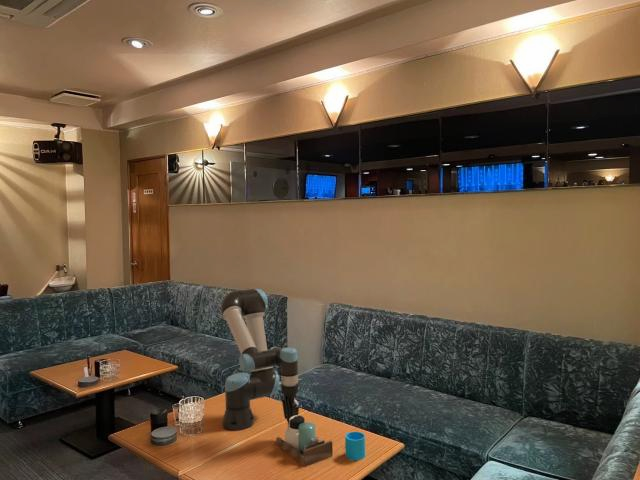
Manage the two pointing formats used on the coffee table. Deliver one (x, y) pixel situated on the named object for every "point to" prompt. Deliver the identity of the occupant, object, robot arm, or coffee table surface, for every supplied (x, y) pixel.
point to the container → (294, 431)
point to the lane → (308, 452)
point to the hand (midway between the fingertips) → (291, 436)
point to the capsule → (306, 434)
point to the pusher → (314, 443)
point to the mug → (355, 445)
